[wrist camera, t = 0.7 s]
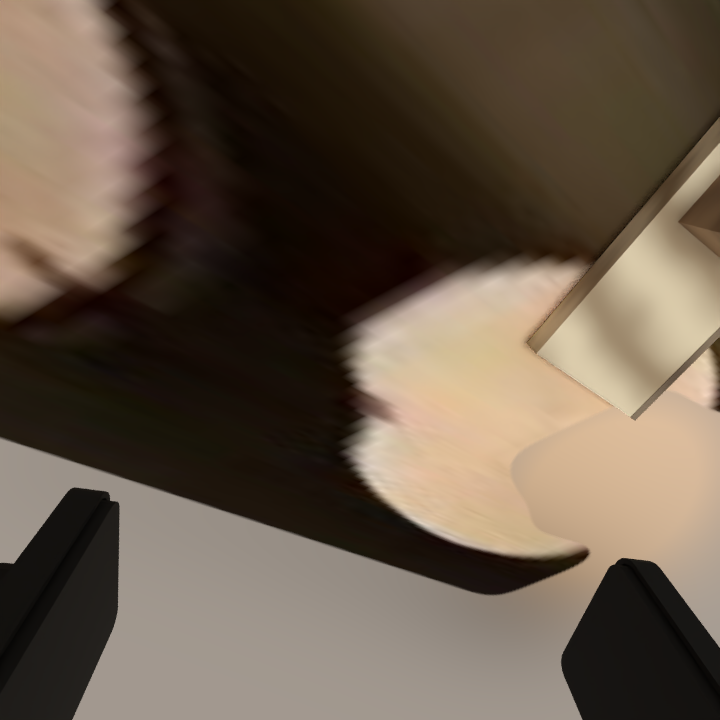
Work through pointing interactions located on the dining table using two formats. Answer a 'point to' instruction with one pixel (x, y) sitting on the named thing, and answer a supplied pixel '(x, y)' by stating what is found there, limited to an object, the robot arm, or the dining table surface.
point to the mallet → (705, 218)
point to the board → (643, 297)
